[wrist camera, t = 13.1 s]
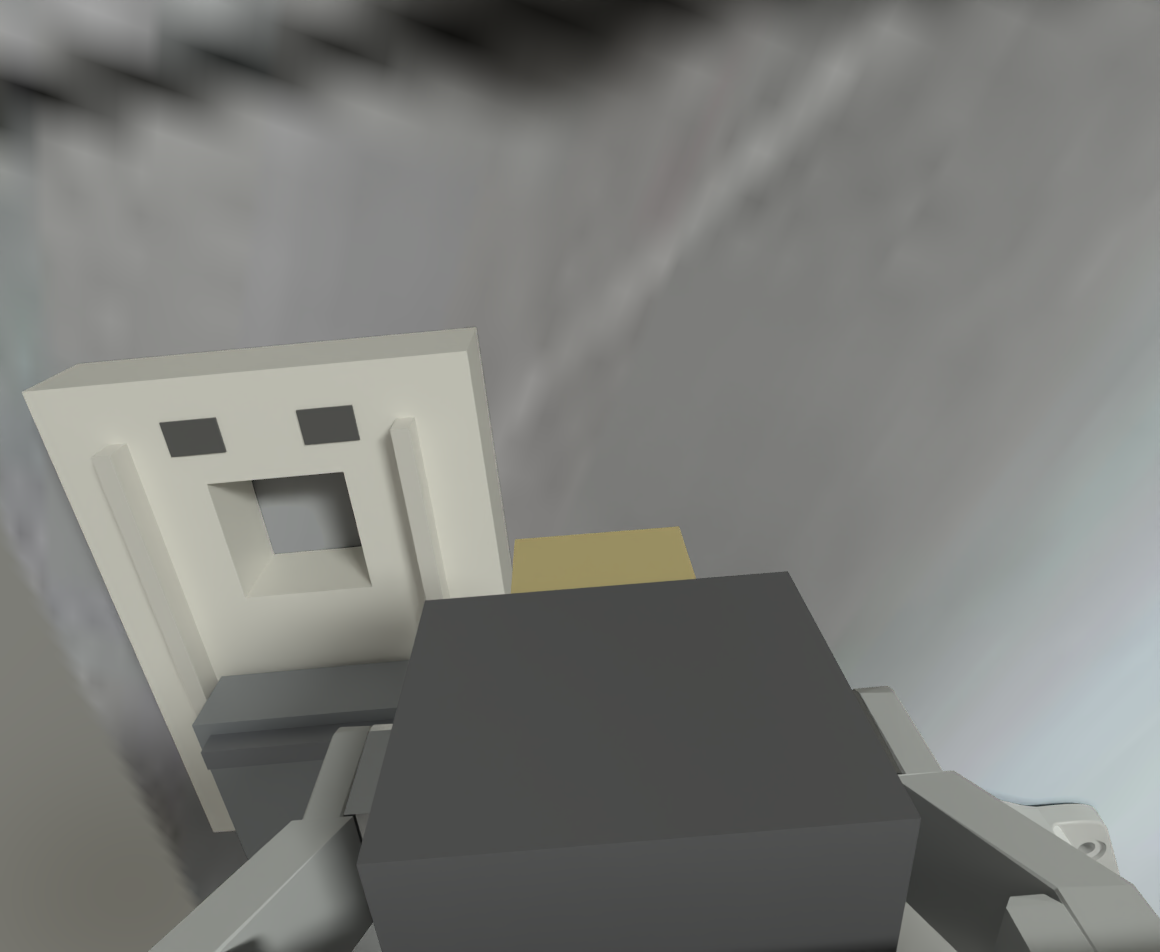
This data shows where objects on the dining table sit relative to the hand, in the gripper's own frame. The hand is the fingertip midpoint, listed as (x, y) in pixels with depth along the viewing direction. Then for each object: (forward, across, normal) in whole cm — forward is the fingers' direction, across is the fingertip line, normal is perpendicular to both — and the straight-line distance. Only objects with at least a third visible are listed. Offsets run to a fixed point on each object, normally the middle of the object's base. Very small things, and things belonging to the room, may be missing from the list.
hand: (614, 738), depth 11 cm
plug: (+3, 0, 0) cm, 3 cm away
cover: (+14, +10, +13) cm, 21 cm away
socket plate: (+17, +10, +8) cm, 22 cm away
